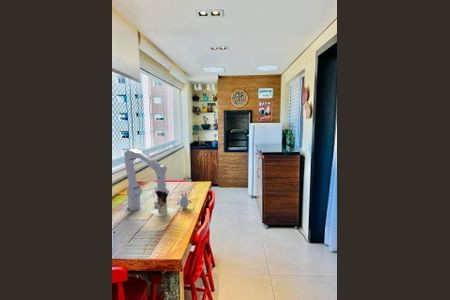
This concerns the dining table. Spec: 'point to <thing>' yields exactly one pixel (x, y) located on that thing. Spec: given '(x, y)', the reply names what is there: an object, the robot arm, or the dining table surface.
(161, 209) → the maple block
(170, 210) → the station board
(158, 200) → the walnut block
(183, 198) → the toy figure
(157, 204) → the grey block
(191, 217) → the dining table surface
